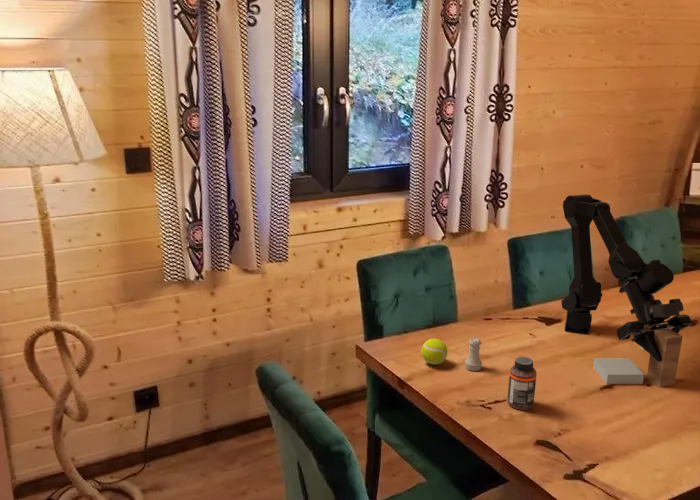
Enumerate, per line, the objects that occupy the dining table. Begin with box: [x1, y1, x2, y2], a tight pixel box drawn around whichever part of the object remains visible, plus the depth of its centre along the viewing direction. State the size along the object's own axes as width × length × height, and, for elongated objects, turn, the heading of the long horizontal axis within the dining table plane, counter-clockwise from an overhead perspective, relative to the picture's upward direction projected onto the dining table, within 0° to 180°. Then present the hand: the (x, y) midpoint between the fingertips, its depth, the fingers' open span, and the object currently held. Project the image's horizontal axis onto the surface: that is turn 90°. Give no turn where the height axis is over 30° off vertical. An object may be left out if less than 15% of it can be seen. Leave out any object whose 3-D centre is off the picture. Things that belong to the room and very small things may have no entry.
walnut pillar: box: [646, 329, 684, 388], centre depth 167 cm, size 4×4×13 cm
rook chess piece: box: [464, 336, 483, 372], centre depth 173 cm, size 4×4×8 cm
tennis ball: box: [421, 338, 448, 366], centre depth 176 cm, size 7×7×7 cm
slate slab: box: [592, 357, 645, 385], centre depth 171 cm, size 9×9×3 cm
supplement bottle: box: [507, 355, 537, 411], centre depth 155 cm, size 6×6×11 cm
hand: (668, 359), depth 165 cm, fingers closed on walnut pillar, 4 cm apart
